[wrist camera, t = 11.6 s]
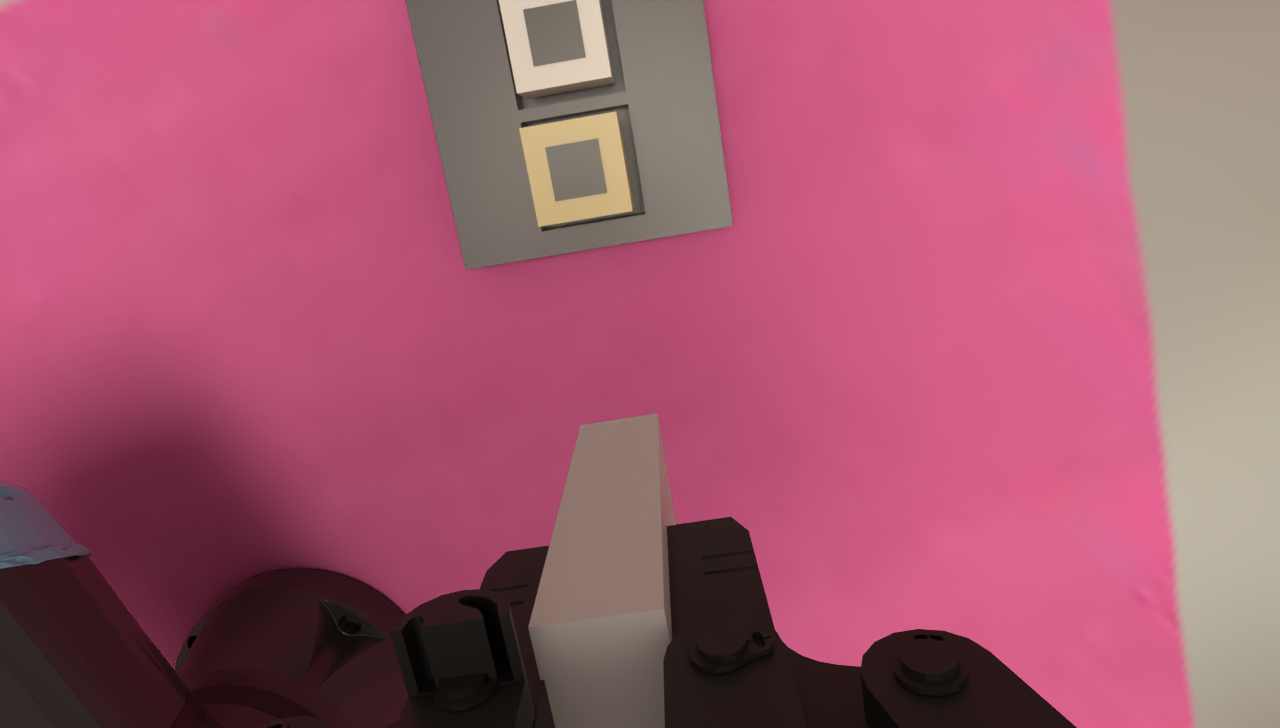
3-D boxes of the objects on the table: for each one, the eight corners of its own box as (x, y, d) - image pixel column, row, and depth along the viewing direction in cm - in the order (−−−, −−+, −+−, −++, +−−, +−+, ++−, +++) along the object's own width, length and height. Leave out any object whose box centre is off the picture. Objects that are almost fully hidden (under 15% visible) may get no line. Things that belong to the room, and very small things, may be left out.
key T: (528, 98, 38) (516, 93, 35) (510, 4, 37) (496, -11, 34) (614, 83, 38) (611, 76, 35) (599, -12, 37) (594, -29, 34)
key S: (547, 221, 39) (538, 227, 35) (530, 130, 37) (518, 128, 34) (634, 206, 38) (632, 211, 35) (619, 115, 37) (616, 111, 34)
